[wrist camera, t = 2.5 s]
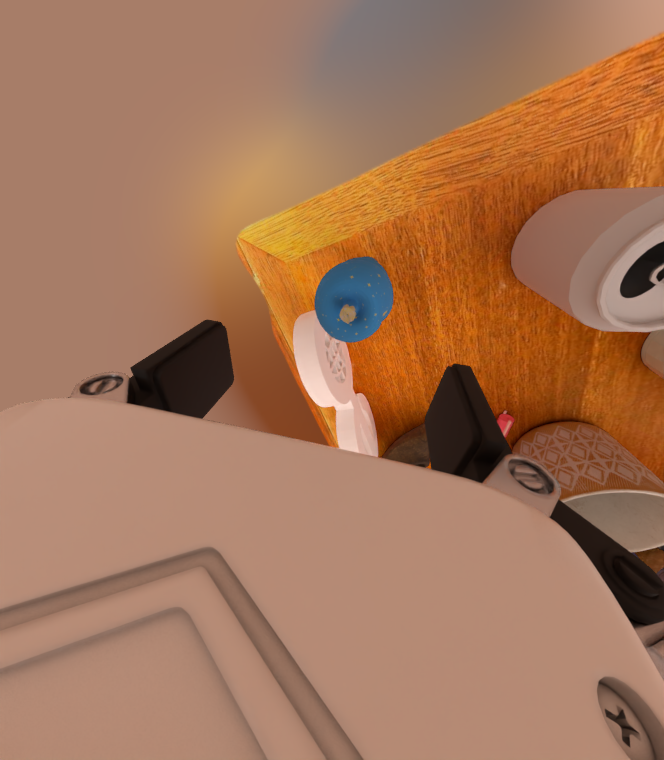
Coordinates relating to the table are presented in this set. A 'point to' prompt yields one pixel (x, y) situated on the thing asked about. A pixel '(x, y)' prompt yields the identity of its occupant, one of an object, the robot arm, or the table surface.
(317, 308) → the ornament
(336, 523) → the robot arm
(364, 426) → the pink double disc plate
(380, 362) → the table surface
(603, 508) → the planter
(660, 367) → the bowl
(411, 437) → the artifact
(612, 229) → the can
